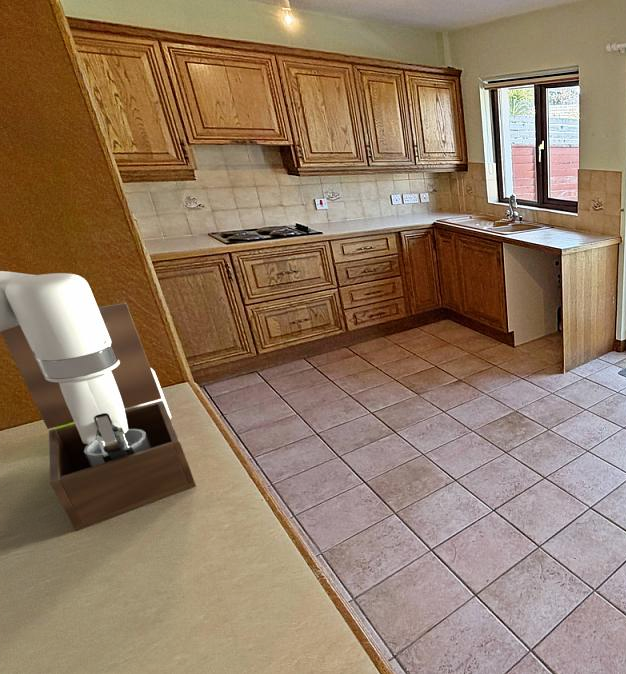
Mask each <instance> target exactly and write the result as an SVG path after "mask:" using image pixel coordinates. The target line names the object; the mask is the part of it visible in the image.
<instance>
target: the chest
mask: <svg viewBox="0 0 626 674" xmlns="http://www.w3.org/2000/svg"><path fill="white" fill-rule="evenodd" d="M125 414H126V419H127V425H128V429H140V430H143V431H144V432H146V435H147V437H148V440H149V442H150V445H151V447H152V448H150V449H147V450H144V451H140V452H137V453H134V454H131V455H128V456H124V457H121V458H118V459H115V460H112V461H109V462H105V463H102V464H99V465H96V466H93V467H91V466H90V464H89V462H88V460H87V457H86V455H85V453H84V450H85V447H86V446H87V445H88V444H84V443H83V442H82V439H81V437H80V434H79V432H78V429H77V427H76V425H75V424H73V425H69V426H65V427H61V428H58V429H56V428H53V429H49V430H48V441H49V442H48V444H49V446H48V447H49V483H50V485H51V487H52V489H53V490H54V493H55V494H56V496H57V498H58V500H59V503H60V504H61V505H62V507H63V509H64V511H65V514H66V515H67V518H68V519H69V521H70V523H71V525H72V527H73V529H74V530H75V532H77V531H81V530H83V529H85V528H88V527H91V526H93V525H96V524H99V523H101V522H104V521H106V520H110V519H112V518H115V517H117V516H120V515H123V514H125V513H128V512H131V511H133V510H136V509H139V508H141V507H144V506H147V505H150V504H152V503H155V502H157V501H160V500H163V499H165V498H169V497H171V496H174V495H176V494H179V493H181V492H184V491H187V490H189V489H192V488H195V487H197V485H196V481H195V479H194V476H193V474H192V471H191V468H190V466H189V462H188V460H187V457H186V454H185V452H184V449H183V447H182V444H181V441H180V439H179V436H178V434H177V432H176V429H175V427H174V425H173V421H172V418H171V419H170V417H169V415H168V412H167V410H166V407H165V405H164V402H163V401H159V402H155V403H151V404H147V405H144V406H140V407H136V408H132V409H129V410H125ZM96 439H97V438H95V440H96Z"/></svg>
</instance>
